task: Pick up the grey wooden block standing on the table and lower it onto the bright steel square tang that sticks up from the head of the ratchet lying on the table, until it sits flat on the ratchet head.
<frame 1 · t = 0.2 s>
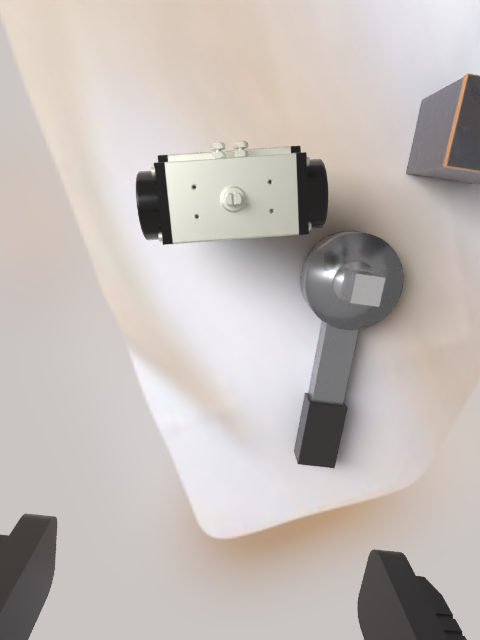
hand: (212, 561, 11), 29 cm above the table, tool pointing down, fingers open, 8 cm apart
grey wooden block: (447, 142, 36), on the table
pneumatic valve: (230, 196, 37), on the table
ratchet: (346, 278, 39), on the table
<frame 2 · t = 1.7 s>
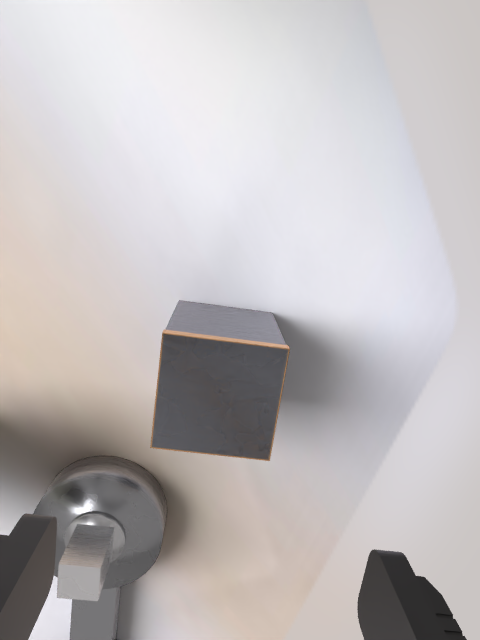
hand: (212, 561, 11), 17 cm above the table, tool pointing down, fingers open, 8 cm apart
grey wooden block: (219, 350, 27), on the table
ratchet: (106, 509, 30), on the table
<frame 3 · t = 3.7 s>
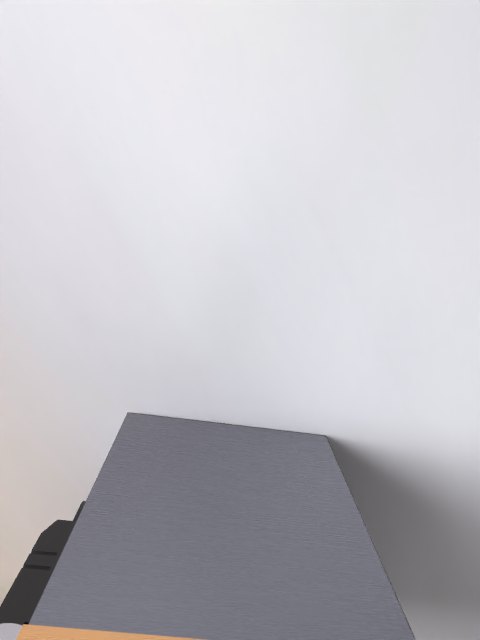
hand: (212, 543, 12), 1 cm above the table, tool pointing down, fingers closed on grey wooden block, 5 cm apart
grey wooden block: (215, 510, 13), on the table, touching gripper
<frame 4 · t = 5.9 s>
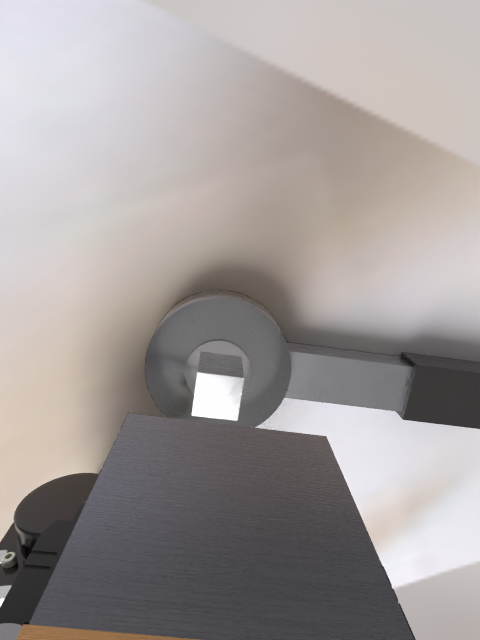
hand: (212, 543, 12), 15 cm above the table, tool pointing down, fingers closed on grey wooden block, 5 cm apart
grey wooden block: (215, 510, 13), point 14 cm above the table, touching gripper
pneumatic valve: (115, 500, 29), on the table
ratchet: (218, 355, 27), on the table
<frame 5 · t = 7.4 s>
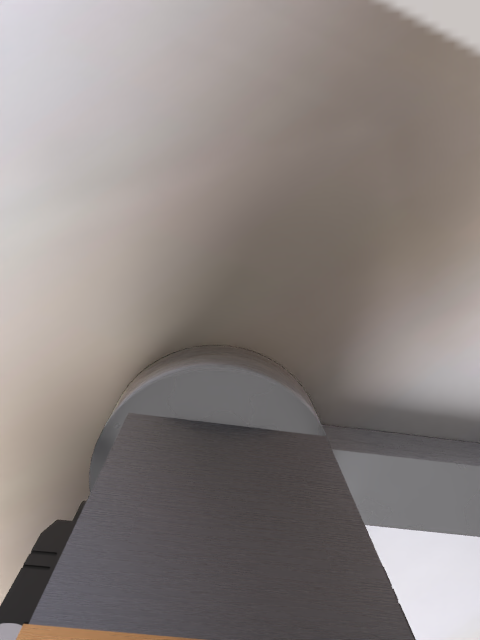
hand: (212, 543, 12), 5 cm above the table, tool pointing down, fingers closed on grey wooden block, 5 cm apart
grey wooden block: (215, 510, 13), point 4 cm above the table, touching gripper
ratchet: (215, 446, 17), on the table
when the fingers open (4 cm above the table, at t = 8.1 s): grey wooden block stays where it is, resting on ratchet.
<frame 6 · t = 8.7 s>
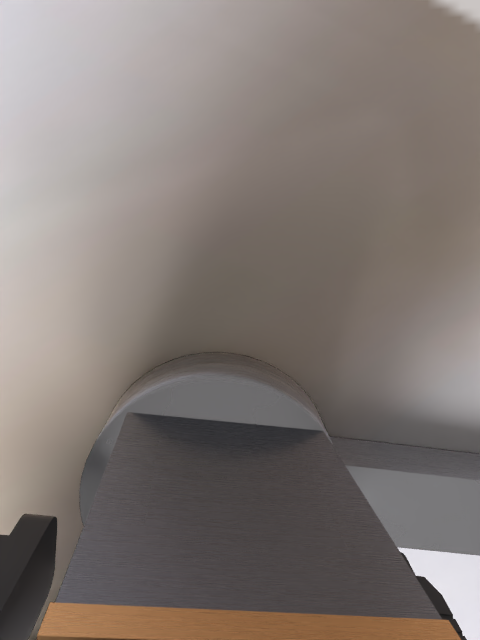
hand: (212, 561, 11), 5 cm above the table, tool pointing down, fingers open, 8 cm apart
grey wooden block: (214, 510, 13), point 3 cm above the table, touching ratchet
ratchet: (215, 459, 16), on the table
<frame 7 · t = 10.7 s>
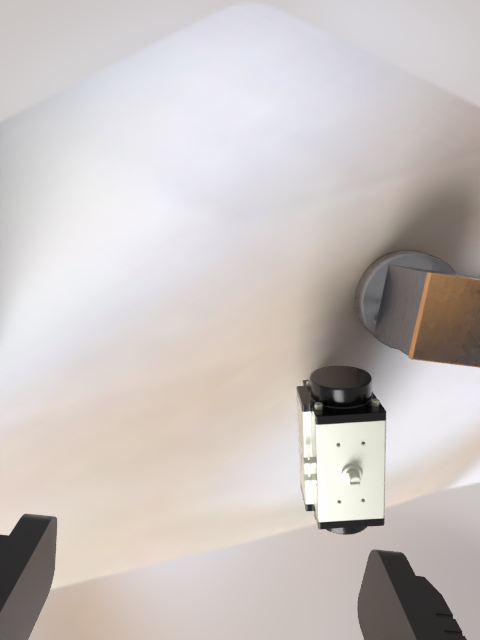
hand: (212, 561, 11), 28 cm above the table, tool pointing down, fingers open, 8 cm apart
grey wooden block: (414, 303, 36), point 3 cm above the table, touching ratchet
pneumatic valve: (317, 402, 41), on the table
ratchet: (402, 297, 39), on the table
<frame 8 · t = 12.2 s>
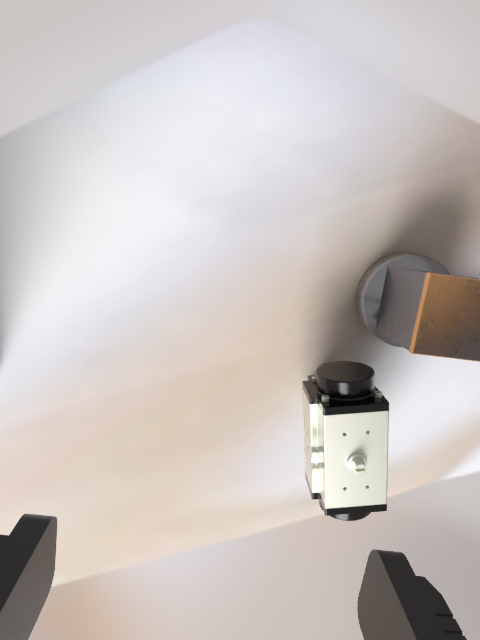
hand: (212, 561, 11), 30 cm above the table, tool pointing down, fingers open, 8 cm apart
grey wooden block: (412, 302, 38), point 3 cm above the table, touching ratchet
pneumatic valve: (319, 398, 43), on the table
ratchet: (399, 296, 41), on the table
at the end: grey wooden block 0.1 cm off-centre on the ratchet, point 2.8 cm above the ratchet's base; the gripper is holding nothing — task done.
